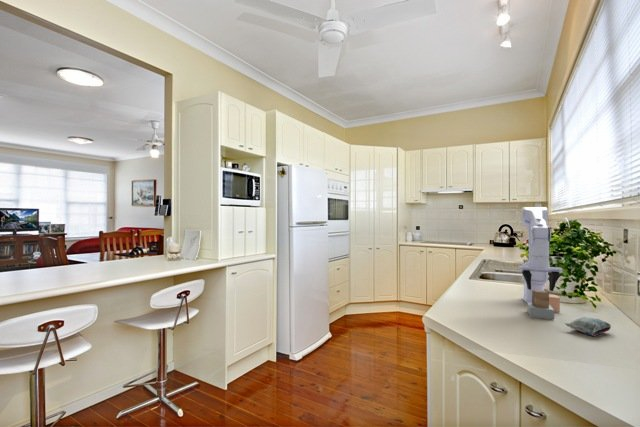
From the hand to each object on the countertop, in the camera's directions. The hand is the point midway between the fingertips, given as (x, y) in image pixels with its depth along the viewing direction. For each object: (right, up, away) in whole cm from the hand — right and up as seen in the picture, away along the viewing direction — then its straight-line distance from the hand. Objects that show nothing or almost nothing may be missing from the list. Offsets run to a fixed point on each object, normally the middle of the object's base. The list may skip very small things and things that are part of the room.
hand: (540, 289), depth 131 cm
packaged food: (+4, -11, -18) cm, 22 cm away
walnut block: (0, -6, 0) cm, 6 cm away
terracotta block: (+10, -10, +7) cm, 16 cm away
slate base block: (0, -11, 0) cm, 11 cm away
